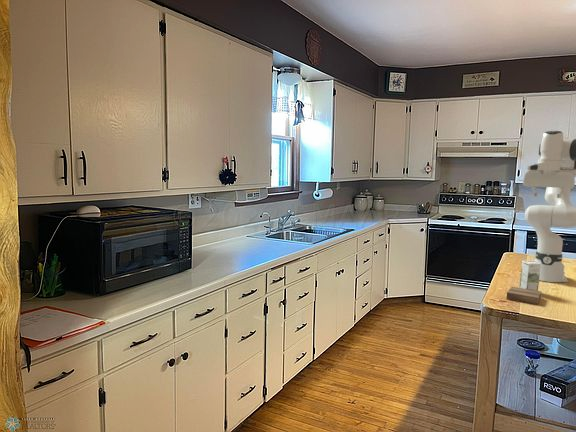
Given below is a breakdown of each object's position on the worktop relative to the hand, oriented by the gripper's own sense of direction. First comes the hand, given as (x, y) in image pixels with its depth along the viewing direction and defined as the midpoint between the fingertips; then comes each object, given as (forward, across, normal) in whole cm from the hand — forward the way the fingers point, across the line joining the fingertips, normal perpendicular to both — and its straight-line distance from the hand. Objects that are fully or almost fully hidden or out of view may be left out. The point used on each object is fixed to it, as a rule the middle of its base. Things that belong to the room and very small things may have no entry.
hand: (546, 197), depth 197 cm
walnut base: (+45, +4, +16) cm, 48 cm away
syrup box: (+45, +4, +2) cm, 45 cm away
